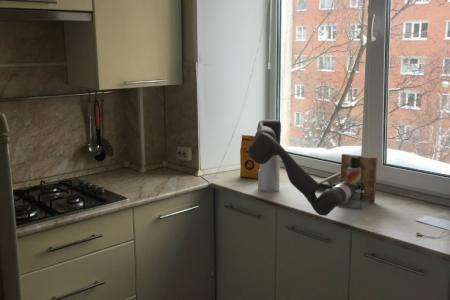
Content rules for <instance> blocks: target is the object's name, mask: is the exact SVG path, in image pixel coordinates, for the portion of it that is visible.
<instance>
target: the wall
mask: <svg viewBox="0 0 450 300" xmlns="http://www.w3.org/2000/svg"><path fill="white" fill-rule="evenodd" d="M339 177H341V171H339V172H337V173H335V174H333V175H331V176H329V177H326V178H324V179H322V180H320V181H316V182H317V183H318V184H319V185H321V184H324V183H327V184H329V185H330V187H332V186H333V184H334V183H338V182H340V179H339Z"/></svg>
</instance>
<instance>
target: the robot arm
mask: <svg viewBox="0 0 450 300" xmlns="http://www.w3.org/2000/svg"><path fill="white" fill-rule="evenodd" d="M281 134H282V122H281V120H279V119H261V120H260V121H259V122H258V123H257V127H256V132H255V134H254V136H255V137H254V140H253V143H252V144H251V145H250V147H249V148H248V153H249V156H250V157H251V159H252V160H253V161H255V162H256V163H258V164H260V169H259V170H258V179H257V189H258V190H260V191H262V192H266V193H267V192H268V193H273V192H279V191H280V179H281V178H280V173H281V170H280V169H281V161H282V163H283V166H284V168H285V172H286V175H287V178H288V181H289V182H290V184H291V185H292V186H293V187H294V188H295V189H297V190H298V192H300V193H301V194H303V196H304V197H305V198H306V199H307V201H308V203H309V204H310V206H311V207H312V209H313V211H314V212H315V213H317V214H318V215H320V216H328V215H329V214H330V213H331V212H332V211H333V210H334V209H335V208H336V207H339V205H340V204H342V203H344V202H346V201H347V200H349V199H350V198H352V197H353V195H354V194H355V193H357V192H360V193H361V194H362V195H363V194H364V192H365V185H364V184H363V183H360V184H359V185H357V184H353V185H352V184H350V183H348V182H341V181H339V182H338V183H334V184H333V186H331V188H327V189H325V190H324V191H323V192H322V193H321V194H320V195H319V196H317V195H316V192H317V190H318V188H319V186H320V184H318V183H317V182H318V181H316V180H315V179H314V178H313V177H312V176H311V175H310V174H308V173H307V172H306V171H305V170H304V169H303V168H302V167H301V166H300V165H299V164H298V163H297V161H296V160H294V158H293V157H292V156H291V155H290V153H288V151H286V149H285V148H284V147H283V146H282V144H281Z"/></svg>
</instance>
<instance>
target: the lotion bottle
mask: <svg viewBox="0 0 450 300" xmlns="http://www.w3.org/2000/svg"><path fill="white" fill-rule="evenodd" d="M359 159H360V158H358V157H353V156H352V157H351V158H350V167H348V171H347V182H348V183H350V184H352V185H353V184H357V185H359V184H360V183H361V168H360V167H359ZM350 199H351V200H357V201H360V192H357V193H355V194H354V195H353V197H352V198H350Z"/></svg>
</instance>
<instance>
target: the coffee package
mask: <svg viewBox="0 0 450 300" xmlns="http://www.w3.org/2000/svg"><path fill="white" fill-rule="evenodd" d="M254 137H255V135H247V134H241V141H240V150H239V155H240V156H239V160H240V162H239V163H240V172H239V173H240V174H239V176H240V177H242V178H248V179H254V180H255V179H257V180H258V170H259V169H260V164H258V163H256V162H255V161H253V160H252V159H251V157H250V156H249V153H248V148H249V147H250V145H251V144H252V143H253V140H254Z"/></svg>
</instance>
